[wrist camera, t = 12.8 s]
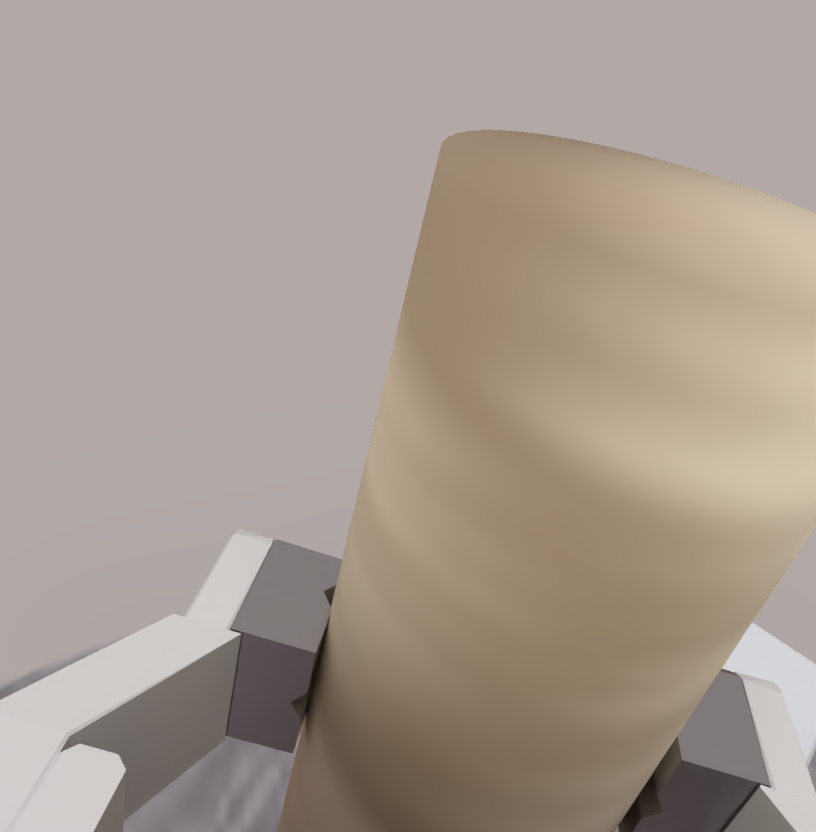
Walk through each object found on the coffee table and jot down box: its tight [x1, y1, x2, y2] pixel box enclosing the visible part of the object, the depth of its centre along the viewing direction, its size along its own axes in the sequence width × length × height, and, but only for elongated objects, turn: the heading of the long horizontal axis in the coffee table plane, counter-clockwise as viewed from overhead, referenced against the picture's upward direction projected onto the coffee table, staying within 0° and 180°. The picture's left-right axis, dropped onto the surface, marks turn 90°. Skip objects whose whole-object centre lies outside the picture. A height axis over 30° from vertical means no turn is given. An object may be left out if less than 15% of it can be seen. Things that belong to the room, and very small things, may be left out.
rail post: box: [277, 130, 816, 832], centre depth 9 cm, size 4×4×12 cm
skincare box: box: [614, 622, 816, 832], centre depth 27 cm, size 6×4×12 cm
